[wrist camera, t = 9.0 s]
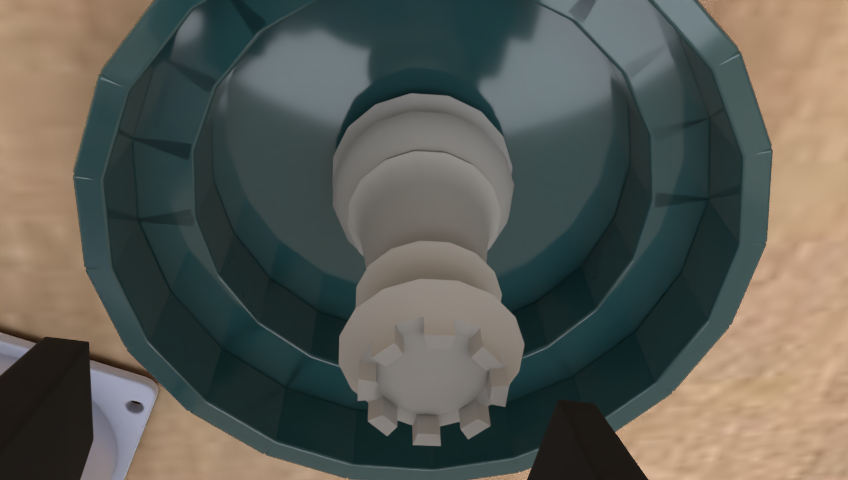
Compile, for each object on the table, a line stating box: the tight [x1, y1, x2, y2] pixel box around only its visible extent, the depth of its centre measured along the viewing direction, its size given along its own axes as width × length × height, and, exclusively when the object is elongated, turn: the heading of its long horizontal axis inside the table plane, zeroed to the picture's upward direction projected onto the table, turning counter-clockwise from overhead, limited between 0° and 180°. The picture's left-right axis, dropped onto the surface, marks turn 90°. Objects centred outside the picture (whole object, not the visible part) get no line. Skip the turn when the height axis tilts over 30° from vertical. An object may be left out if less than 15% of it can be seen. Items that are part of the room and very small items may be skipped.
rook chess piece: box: [333, 93, 524, 446], centre depth 16 cm, size 4×4×8 cm
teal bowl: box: [73, 0, 772, 480], centre depth 18 cm, size 14×14×4 cm
